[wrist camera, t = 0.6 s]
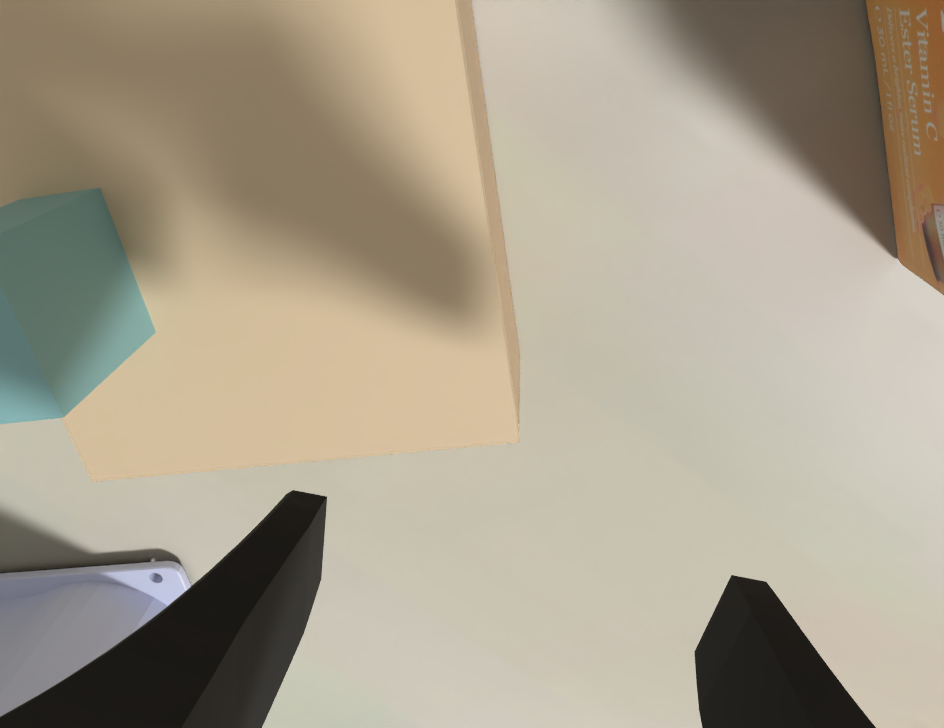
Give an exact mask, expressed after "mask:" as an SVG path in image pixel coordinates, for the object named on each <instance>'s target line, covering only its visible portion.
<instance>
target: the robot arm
mask: <svg viewBox="0 0 944 728" xmlns="http://www.w3.org/2000/svg"><path fill="white" fill-rule="evenodd" d="M326 503H327V497H325V496H320V495H315V494H310V493H305V492H299V491H294V490H293V491H291V492H289V493H288V494H286V495H285V496H284V498H283V499H282V500H281V501H280V502H279V503H278V504H277V505H276V506H275V507H274V508H273V510H272V511H271V512H270V513H269V514H268V515H267V516H266V517H265V518H264V519H263V520H262V521H261V522H260V523H259V524H258V525H257V526H256V527H255V528H254V529H253V530H252V531H251V532H250V533H249V534H248V535H247V536H246V537H245V538H244V539H243V540H242V541H241V542H240V543H239V544H238V545H237V546H236V547H235V548H234V549H233V550H231V551H230V552H229V553H228V554H227V555H226V556H225V557H224V558H223V559H222V560H221V561H220V562H219V563H217V564H216V565H215V566H214V567H213V568H212V569H211V570H210V571H209V572H208V573H206V574H205V575H204V576H203V577H202V578H201V579H200V580H198V581H197V582H196V583H195V584H194V585H192V586H191V584H190V582H189V580H188V578H187V575H186V573H185V571H184V569H183V568H182V566H181V565H180V564H178V563H176V562H174V561H159V562H146V563H133V564H120V565H107V566H93V567H80V568H67V569H54V570H41V571H28V572H15V573H2V574H0V728H262V726H263V724H264V721H265V719H266V717H267V715H268V712H269V710H270V708H271V706H272V704H273V701H274V699H275V697H276V695H277V692H278V690H279V688H280V686H281V683H282V681H283V679H284V677H285V674H286V672H287V670H288V668H289V665H290V663H291V661H292V659H293V656H294V654H295V652H296V650H297V647H298V645H299V643H300V640H301V638H302V636H303V634H304V631H305V628H306V625H307V622H308V618H309V615H310V612H311V609H312V606H313V603H314V600H315V597H316V593H317V590H318V587H319V584H320V581H321V572H322V559H323V545H324V531H325V517H326ZM156 573H158V574H159V575H158V574H156ZM695 664H696V679H697V691H698V701H699V711H700V716H701V722H702V727H703V728H876V727H875V726H874V725H873V724H872V722H871V721H870V720H869V719H868V717H867V716H866V715H865V714H864V712H863V711H862V710H861V709H860V707H859V706H858V705H857V704H856V702H855V701H854V700H853V699H852V697H851V696H850V695H849V693H848V692H847V691H846V690H845V688H844V687H843V686H842V684H841V683H840V682H839V680H838V679H837V678H836V676H835V675H834V674H833V672H832V671H831V670H830V668H829V667H828V666H827V664H826V663H825V662H824V660H823V659H822V658H821V656H820V655H819V654H818V652H817V651H816V649H815V648H814V647H813V645H812V644H811V643H810V641H809V640H808V638H807V637H806V636H805V634H804V633H803V632H802V630H801V629H800V627H799V626H798V625H797V623H796V622H795V620H794V619H793V618H792V616H791V615H790V614H789V612H788V611H787V609H786V608H785V607H784V605H783V604H782V602H781V601H780V600H779V598H778V597H777V596H776V594H775V593H774V592H773V590H772V589H771V588H770V586H769V585H768V584H767V582H764V581H759V580H754V579H748V578H743V577H738V576H733V575H732V576H731V578H730V580H729V582H728V584H727V586H726V588H725V590H724V592H723V594H722V596H721V598H720V600H719V602H718V605H717V607H716V609H715V611H714V613H713V615H712V617H711V619H710V621H709V623H708V625H707V627H706V629H705V631H704V633H703V636H702V638H701V640H700V642H699V644H698V646H697V648H696V650H695Z"/></svg>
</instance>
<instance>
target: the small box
mask: <svg viewBox="0 0 944 728" xmlns="http://www.w3.org/2000/svg"><path fill="white" fill-rule="evenodd" d="M866 5H867V13H868V19H869V25H870V30H871V35H872V42H873V48H874V55H875V63H876V71H877V78H878V86H879V94H880V102H881V110H882V120H883V129H884V138H885V147H886V156H887V165H888V174H889V183H890V191H891V200H892V208H893V217H894V225H895V237H896V245H897V254H898V259H899V261H900V263H901V264H902V265H903V266H905V267H906V268H907V269H909V270H910V271H911V272H913V273H914V274H915V275H917V276H918V277H920V278H921V279H922V280H924V281H925V282H927V283H928V284H929V285H931V286H932V287H933V288H935V289H936V290H937V291H939V292H940V293H942V294H943V295H944V0H866Z"/></svg>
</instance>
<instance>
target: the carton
mask: <svg viewBox="0 0 944 728" xmlns="http://www.w3.org/2000/svg"><path fill="white" fill-rule="evenodd" d="M457 3H458V10H459V17H460V23H461V30H462V37H463V44H464V51H465V58H466V65H467V72H468V79H469V86H470V93H471V99H472V106H473V113H474V120H475V127H476V134H477V141H478V148H479V155H480V162H481V169H482V175H483V182H484V189H485V196H486V203H487V210H488V217H489V224H490V231H491V238H492V245H493V252H494V258H495V265H496V272H497V279H498V286H499V293H500V300H501V307H502V314H503V321H504V328H505V334H506V341H507V348H508V355H509V362H510V369H511V376H512V383H513V390H514V397H515V404H516V410H517V417H518V424H519V403H520V354H519V347H518V339H517V332H516V325H515V317H514V310H513V303H512V295H511V288H510V281H509V273H508V266H507V259H506V251H505V244H504V237H503V230H502V222H501V215H500V208H499V200H498V193H497V186H496V178H495V171H494V164H493V156H492V149H491V142H490V135H489V127H488V120H487V113H486V105H485V98H484V91H483V83H482V76H481V69H480V61H479V54H478V47H477V39H476V32H475V25H474V18H473V10H472V3H471V0H457Z"/></svg>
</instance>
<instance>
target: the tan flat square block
mask: <svg viewBox="0 0 944 728" xmlns="http://www.w3.org/2000/svg"><path fill="white" fill-rule="evenodd" d="M54 418H62V421H63V423H64V425H65V427H66V429H67V431H68V433H69V435H70V437H71V439H72V441H73V443H74V445H75V448H76V450H77V452H78V454H79V456H80V458H81V460H82V462H83V464H84V466H85V468H86V470H87V472H88V474H89V477H90V479H91V481H92V482H94V481H105V480H116V479H127V478H137V477H148V476H159V475H170V474H181V473H191V472H202V471H213V470H224V469H235V468H246V467H256V466H267V465H278V464H289V463H300V462H311V461H321V460H332V459H343V458H354V457H365V456H375V455H386V454H397V453H408V452H419V451H430V450H440V449H451V448H462V447H473V446H484V445H494V444H505V443H516V442H519V424H518V417H517V410H516V404H515V397H514V390H513V383H512V376H511V369H510V362H509V355H508V348H507V341H506V334H505V328H504V321H503V314H502V307H501V300H500V293H499V286H498V279H497V272H496V265H495V258H494V252H493V245H492V238H491V231H490V224H489V217H488V210H487V203H486V196H485V189H484V182H483V175H482V169H481V162H480V155H479V148H478V141H477V134H476V127H475V120H474V113H473V106H472V99H471V93H470V86H469V79H468V72H467V65H466V58H465V51H464V44H463V37H462V30H461V23H460V17H459V10H458V3H457V0H0V424H6V423H16V422H25V421H35V420H44V419H54Z"/></svg>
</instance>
